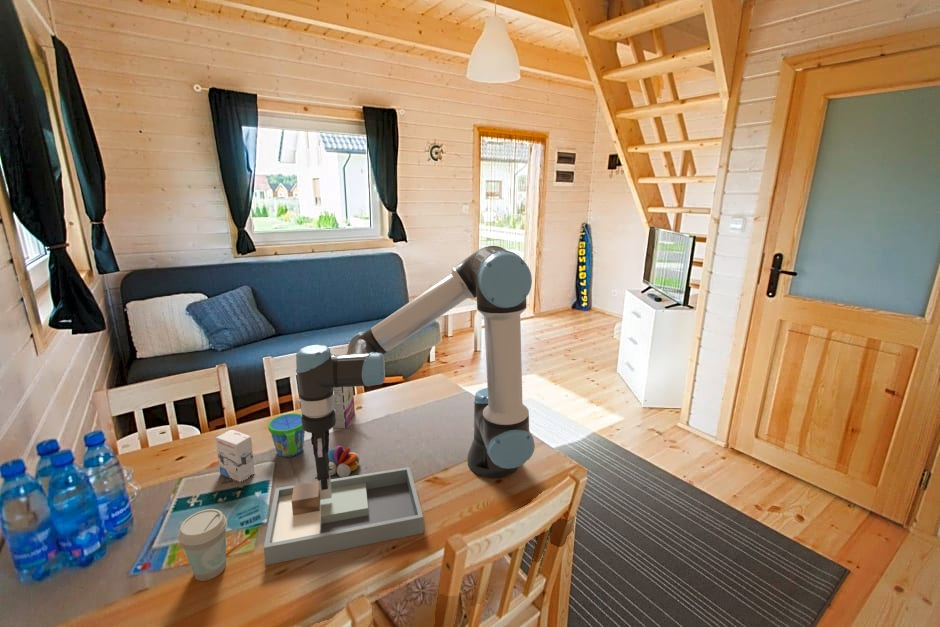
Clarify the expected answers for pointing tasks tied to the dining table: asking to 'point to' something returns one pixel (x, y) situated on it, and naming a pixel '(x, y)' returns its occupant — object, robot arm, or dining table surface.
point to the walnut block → (305, 498)
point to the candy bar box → (343, 406)
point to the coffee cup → (205, 543)
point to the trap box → (345, 516)
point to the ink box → (235, 455)
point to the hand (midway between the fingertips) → (325, 496)
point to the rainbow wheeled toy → (342, 461)
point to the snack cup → (287, 434)
